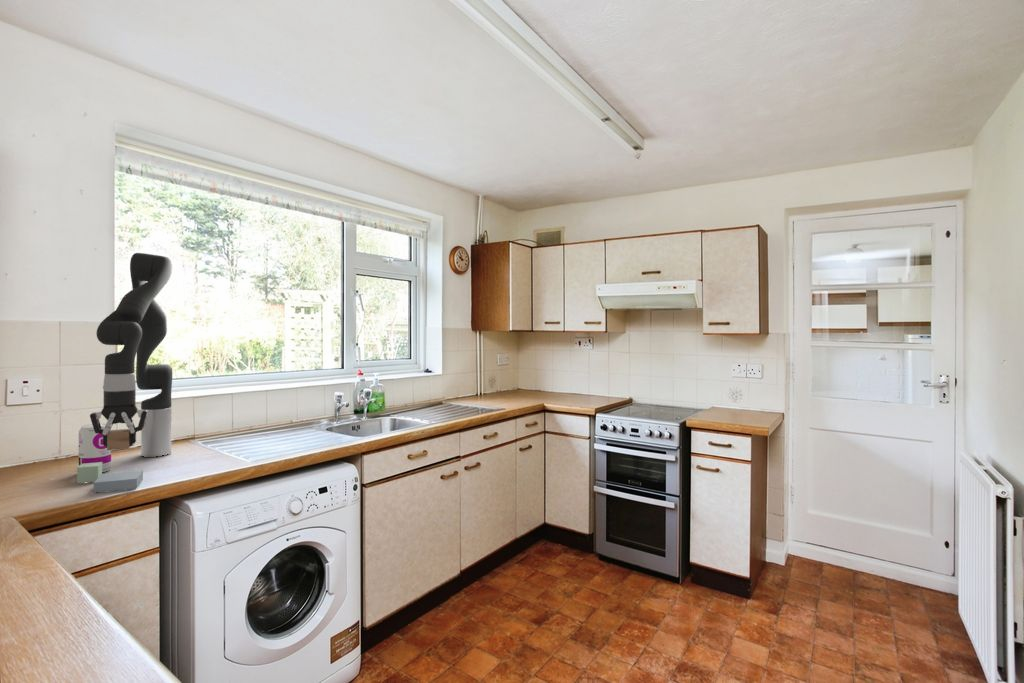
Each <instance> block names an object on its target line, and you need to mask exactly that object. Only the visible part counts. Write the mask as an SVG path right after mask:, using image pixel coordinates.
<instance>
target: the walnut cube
mask: <svg viewBox="0 0 1024 683" xmlns="http://www.w3.org/2000/svg"><path fill="white" fill-rule="evenodd" d="M129 436H130V431H129V429H128V428H123V429H111V431H109V432H108V433H107V450H111V451H115V450H116V451H117V450H127V449H128V450H129V449H130V448H131V447H132V446H130V445H129Z"/></svg>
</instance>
